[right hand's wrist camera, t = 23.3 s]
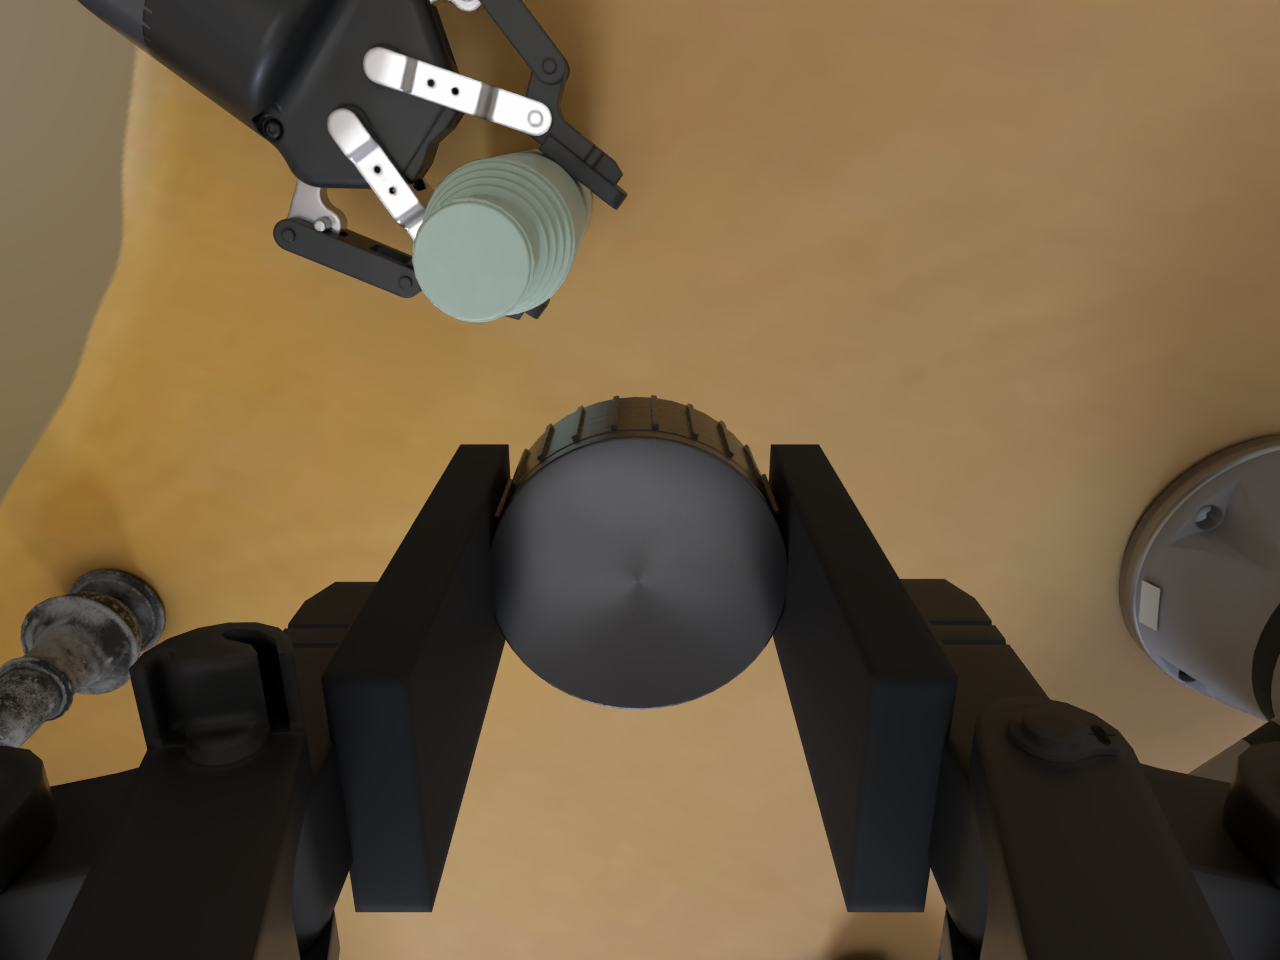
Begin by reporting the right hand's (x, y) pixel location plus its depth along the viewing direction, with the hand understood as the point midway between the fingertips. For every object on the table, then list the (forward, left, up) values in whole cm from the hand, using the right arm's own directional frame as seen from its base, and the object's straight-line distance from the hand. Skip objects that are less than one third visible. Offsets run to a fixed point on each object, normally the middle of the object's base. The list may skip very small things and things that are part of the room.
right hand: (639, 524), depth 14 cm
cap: (0, 0, +2) cm, 2 cm away
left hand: (+2, -1, -24) cm, 24 cm away
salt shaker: (+31, +15, -31) cm, 46 cm away
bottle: (+4, -3, -31) cm, 31 cm away
